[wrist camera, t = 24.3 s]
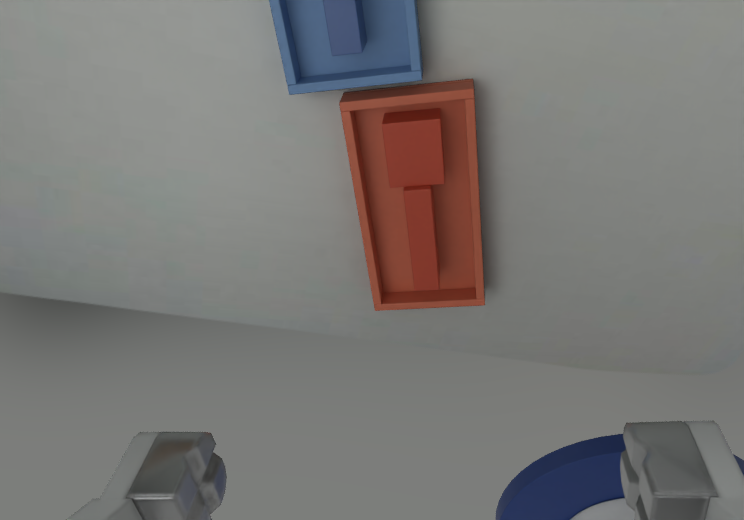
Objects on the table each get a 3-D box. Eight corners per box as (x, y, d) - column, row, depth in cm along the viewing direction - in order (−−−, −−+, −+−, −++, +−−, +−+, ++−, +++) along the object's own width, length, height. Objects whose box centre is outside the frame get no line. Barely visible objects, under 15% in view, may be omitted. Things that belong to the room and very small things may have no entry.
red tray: (483, 289, 46) (485, 305, 45) (377, 295, 48) (374, 311, 46) (472, 78, 38) (474, 88, 36) (343, 92, 39) (338, 102, 38)
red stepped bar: (452, 269, 45) (452, 289, 43) (403, 272, 46) (401, 292, 44) (440, 107, 39) (440, 121, 36) (384, 112, 39) (380, 127, 37)
